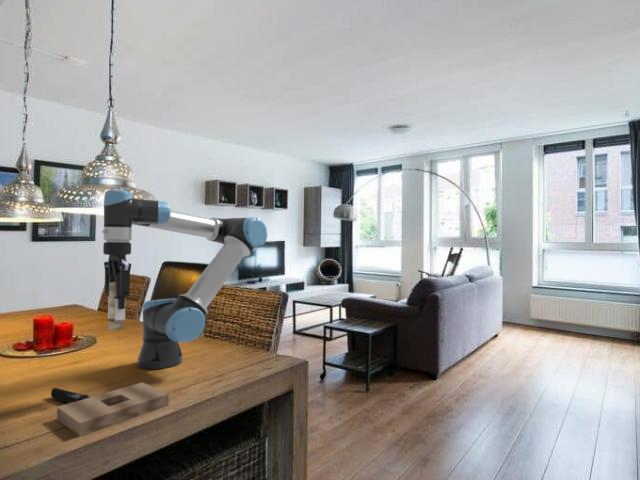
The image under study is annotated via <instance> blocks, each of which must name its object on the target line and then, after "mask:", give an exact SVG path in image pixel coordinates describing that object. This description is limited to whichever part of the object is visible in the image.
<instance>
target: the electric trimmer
mask: <svg viewBox="0 0 640 480" xmlns="http://www.w3.org/2000/svg"><path fill="white" fill-rule="evenodd" d="M50 396H51V397H52V399H53V398H54V399H55V400H57V401H58V402H61V403H63V404H64V403H66V404H69V403H73V402H76V401H79V400H83V399H86V398H90V397H91V396H89V395H88V394H81V393H76V392H74V391H70V390H66V389H61V388H58V387H53V388H52V389H51V392H50Z"/></svg>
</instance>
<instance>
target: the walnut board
mask: <svg viewBox="0 0 640 480" xmlns="http://www.w3.org/2000/svg"><path fill="white" fill-rule="evenodd" d="M89 397H90V398H86V399H83V400H79V401H76V402H73V403H66V404H62V405H59V406H57V407H56V419H57V421H59V422H60V423H62V424H63V425H64V426H65V427H67V428H68V429H69V430H70V431H72V432H73V433H74V434H76V435H77V436H78V437H82V436H85V435H88V434H90V433H91V434H92V433H94V432H96V431H99V430H102V429H105V428H107V427H110V426H113V425H116V424H119V423H121V422H124V421H127V420H130V419H132V418H133V419H134V418H136V417H139V416H141V415H144V414H147V413H150V412H153V411H155V410H156V411H157V410H158V409H162V408H164V407H167V406H169V405H170V404H169V398H170V397H169V393H167V392H165V391H163V390H161V389H159V388H157V387H154V386H152V385H150V384H147V383H145V382H139V383H138V382H137V383H135V384H132V385H128V386H125V387H122V388H119V389H118V388H117V389H114V390H110V391H107V392H104V393H99V394H97V395H93V396H89Z"/></svg>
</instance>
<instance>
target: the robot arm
mask: <svg viewBox="0 0 640 480" xmlns="http://www.w3.org/2000/svg"><path fill="white" fill-rule="evenodd" d="M133 225H134V226H140V227H147V228H150V229H151V228H152V229H157V230H162V231H163V230H164V231H167V232H173V233H174V232H175V233H180V234H185V235H190V236H195V237H201V238H205V239H206V240H207V241H209V242H215V243H218V244H222V245H223V246H222V247H221V248H220V250H219V251H218V252H217V254H216V255H215V256H214V257H213V258H212V260H211V261H210V263H208V265H207V266H206V267H205V269H204V270H203V271H202V273H201V274H200V276H199V277H198V278H197V279H196V280H195V282H194V283H193V284H192V286H191V287H190V288H189V290H187V292H186V293H183V294H179V295H178V296H177V298H176V297H173V298H172V297H171V298H162V299H153V300H147V301H145V302H144V303H143V307H142V310H141V311H142V345H141V348H140V351H139V353H138V357H137V366H138V367H139V368H142V369H145V370H159V369H166V368H170V367H171V368H172V367H174V366H177V365H179V364H181V363H182V362H183V352H182V348H181V346H180V344H179V343H189V342H190V343H191V342H192V341H194V340H196V339H197V338H198V337H200V336H201V334H202V333H203V331H204V329H205V325H206V324H205V322H206V316H207V315H208V307H209V305H210V303H211V302H212V301H213V300H214V299H215V297H216V296H217V294H218V293H219V292H220V290H221V288H222V287H223V285H225V283H226V281H228V279H229V277H230V276H231V275H232V273H234V271H235V269H236V268H237V266H238V265H239V263H240V262H241V261H242V260H243V258H245V257H249V256H250V255H251V254H252V253H253V251H254V249H256V248H260V247H262V246H264V245H265V243H266V242H267V238H268V228H267V225H266V224H265V222H264V221H263V220H262V219H261V218H259V217H254V216H247V217H231V218H220V217H218V218H217V217H215V216H214V217H211V218H206V217H202V216H197V215H194V214H193V215H192V214H189V213H185V212H180V211H179V212H178V211H175V210H172V209H171V207H170V204H169V203H168V202H167V201H161V200H154V199H153V200H152V199H141V198H140V199H139V198H135V197H133V193H132V192H131V191H129V190H123V189H109V190H106V191H105V192H104V199H103V230H102V231H101V232H102V234H103V240H104V242H103V246H102V247H103V248H102V251H103V255H109V256H108V261H104V262H103V266H104V293H105V294H106V295H107V319H109V283H110V282H116V295H117V297H114V299H115V321H118V320H124V321H125V320H126V298H127V297H130V294H131V293H130V291H131V288H130V287H131V286H130V284H131V282H130V281H131V268H132V264H131V262H130V263H128V262H127V256H129V255H131V254H132V242H130V241H132V232H133V231H132V229H133V228H132V227H133ZM126 255H127V256H126Z"/></svg>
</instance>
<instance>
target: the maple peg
mask: <svg viewBox="0 0 640 480" xmlns="http://www.w3.org/2000/svg"><path fill="white" fill-rule="evenodd" d="M108 297H109V318H107V319H108V330H109V331H120V330H123V329H124V325H125V324H124V321H125V320H118V321H115V299H114V297H117V295H116V282H110V283H109V296H108Z"/></svg>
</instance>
